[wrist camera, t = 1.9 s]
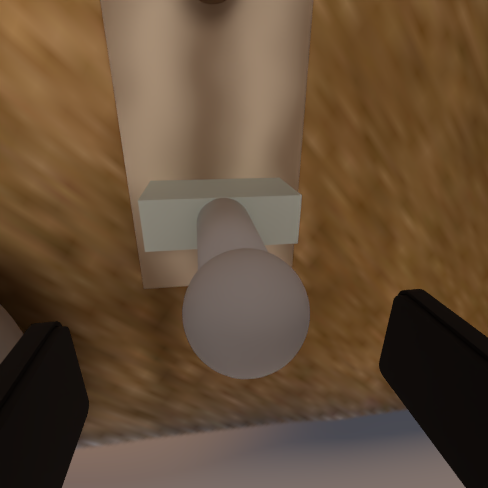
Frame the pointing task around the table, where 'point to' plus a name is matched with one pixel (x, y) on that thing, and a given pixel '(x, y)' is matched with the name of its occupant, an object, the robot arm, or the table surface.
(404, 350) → the robot arm
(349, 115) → the table surface
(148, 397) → the table surface
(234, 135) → the base
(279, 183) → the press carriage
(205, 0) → the walnut
